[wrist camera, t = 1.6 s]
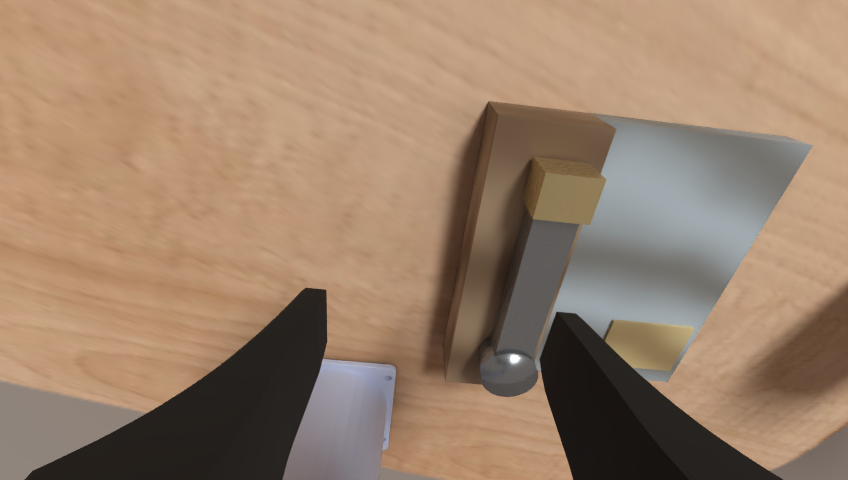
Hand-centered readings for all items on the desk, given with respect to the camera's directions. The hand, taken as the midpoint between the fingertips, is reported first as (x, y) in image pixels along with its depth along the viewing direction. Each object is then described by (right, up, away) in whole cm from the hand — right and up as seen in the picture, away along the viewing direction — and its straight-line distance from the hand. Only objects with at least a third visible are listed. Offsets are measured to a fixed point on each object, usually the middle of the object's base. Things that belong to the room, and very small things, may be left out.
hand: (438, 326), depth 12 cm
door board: (+10, +2, +11) cm, 15 cm away
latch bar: (+5, +1, +8) cm, 9 cm away
